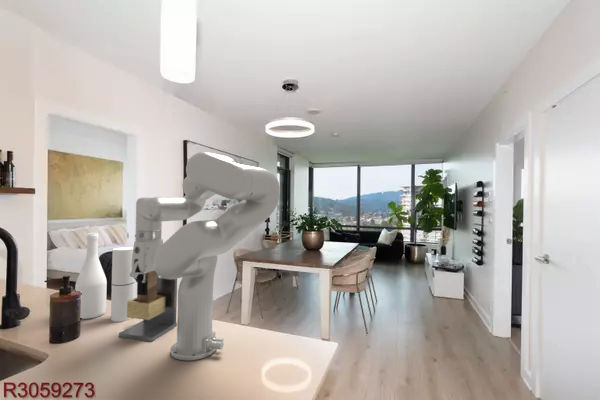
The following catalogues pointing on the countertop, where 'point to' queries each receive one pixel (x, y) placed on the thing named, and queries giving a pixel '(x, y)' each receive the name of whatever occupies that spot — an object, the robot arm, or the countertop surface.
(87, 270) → the wine bottle
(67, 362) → the countertop surface
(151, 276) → the rail post
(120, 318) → the cylindrical container
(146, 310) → the cup bracket
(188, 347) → the robot arm
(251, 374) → the countertop surface
